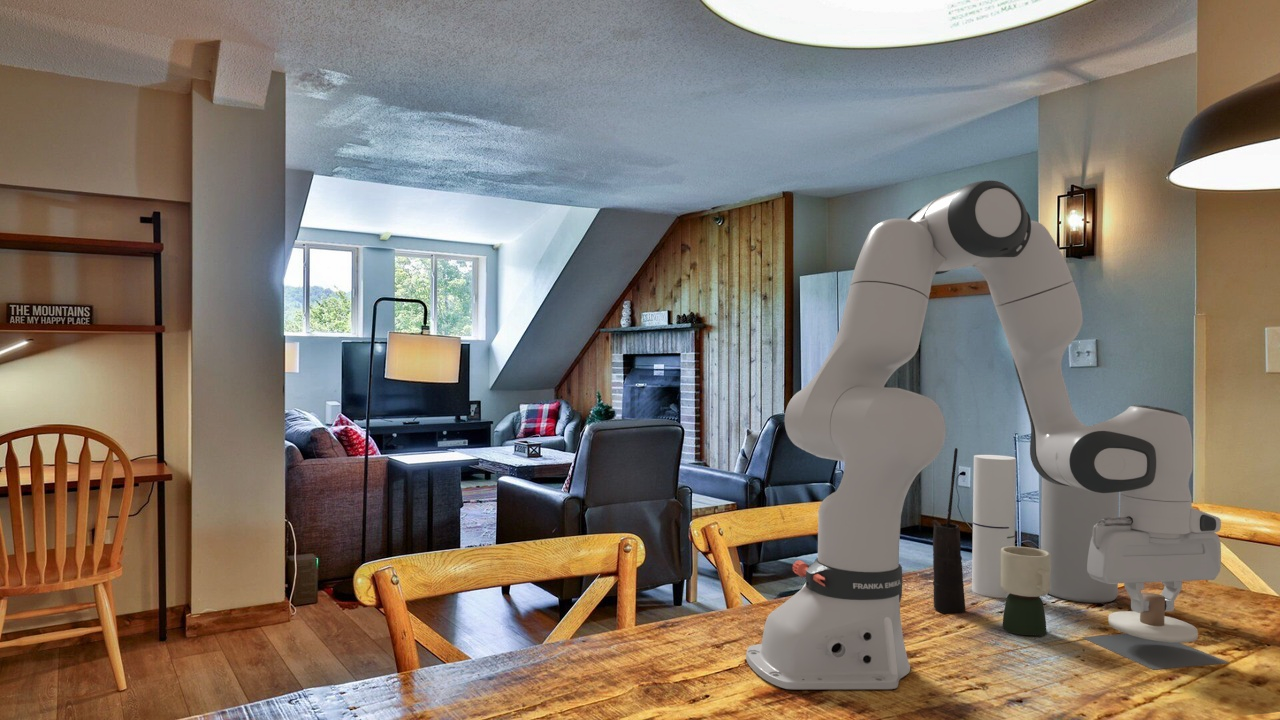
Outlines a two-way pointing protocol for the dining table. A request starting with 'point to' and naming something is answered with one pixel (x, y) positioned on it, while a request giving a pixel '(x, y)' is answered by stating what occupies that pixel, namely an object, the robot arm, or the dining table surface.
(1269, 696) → the dining table surface
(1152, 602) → the lid
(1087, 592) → the cylinder vase
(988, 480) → the cylindrical container
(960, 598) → the butter churn
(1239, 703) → the dining table surface
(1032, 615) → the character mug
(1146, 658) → the mat
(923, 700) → the dining table surface
